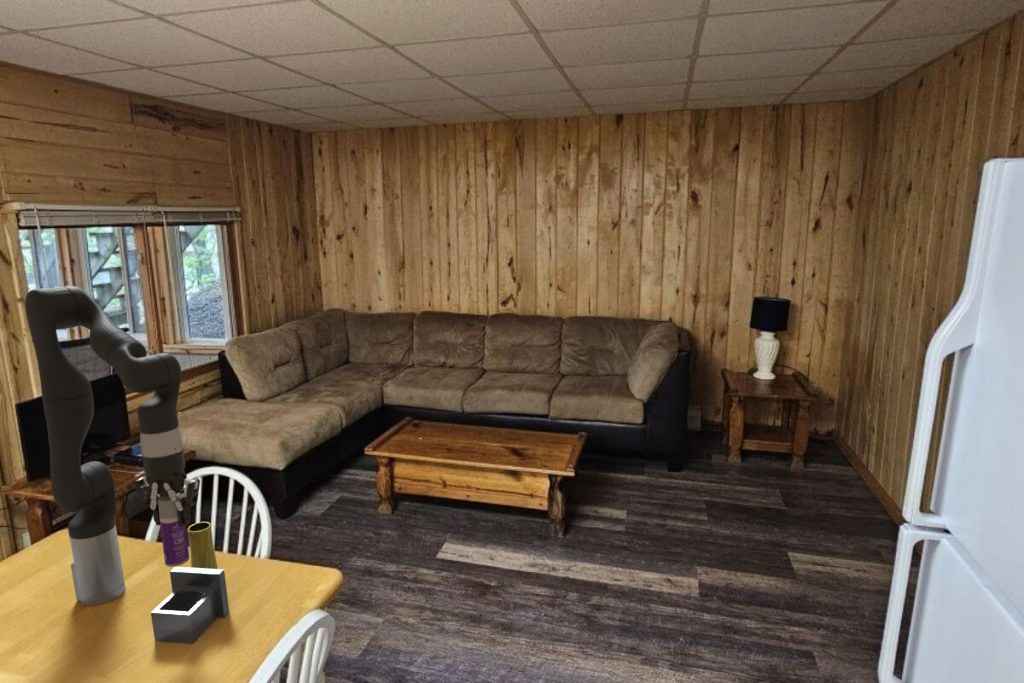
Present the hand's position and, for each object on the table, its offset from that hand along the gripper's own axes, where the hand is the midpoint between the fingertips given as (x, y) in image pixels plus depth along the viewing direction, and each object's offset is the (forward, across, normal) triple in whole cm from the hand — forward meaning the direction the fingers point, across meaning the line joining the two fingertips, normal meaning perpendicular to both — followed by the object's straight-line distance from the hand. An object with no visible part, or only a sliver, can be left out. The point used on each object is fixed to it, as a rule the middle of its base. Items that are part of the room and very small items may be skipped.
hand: (172, 523), depth 132 cm
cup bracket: (+25, 0, +1) cm, 25 cm away
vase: (+26, -8, +19) cm, 33 cm away
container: (+9, 0, 0) cm, 9 cm away
